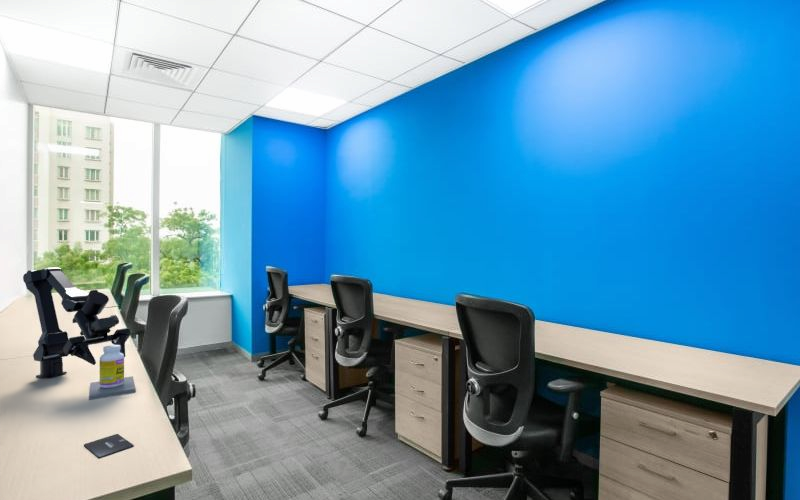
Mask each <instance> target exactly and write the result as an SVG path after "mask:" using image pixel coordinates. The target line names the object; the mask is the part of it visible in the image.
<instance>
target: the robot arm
mask: <svg viewBox="0 0 800 500" xmlns="http://www.w3.org/2000/svg"><path fill="white" fill-rule="evenodd" d="M22 280H23V283H24V284H25V287H26V289H27V291H28V292H30V293H31V294H33V296H34V301H35V305H36V309H37V315H38V319H39V323H40V329H41V332H42V333H41V336H40V337H39V339H38V341H37V344H38V346H37V347H36V349H35V351H34V352H33V354H32V357H33V361H35V362H40V363H39V364H40V365H39V366H40V367H39V368H40V369H39V370H40V374H37V375H35V378H41V379H42V378H44V379H51V378H54V377H58V376H61V375H65V374H68V372H67V371H64V367H63V366H64V364H63V363H64V362H63V358H65V357H68V356H69V355H70V356H71V357H76V358H79V359H82V360H84V361H85V362H88V363H89V364H91V365H93V366H95V365H96V363H97V362H96V359H95V357H94V355H93V353H92V352H91V350H90V348H89V346H90V345H98V344H103V343H107V342H111V344H112V345H120V346H121V349H120V353H123V354H124V358H126V342H127V340H128V339H129V338H130V336H131V335H132V331H131V329H130V328H129V327H124V328H119V329H116V330H115V331H114V333H113V334H109V333H110V332H111V328H114V327H116V326H117V325H119V323H120V320H119V317H118V315H116V314H113V315H110V316H109V317H102V318H99V317H98V316H99V315H100V314H101V313H102V312H103V311H104V309H105V307H106V306H107V304H108V302H109V301H110V299H109V297H108V295H106V294H105V293H103V292H100V291H98V289H92V290H89V292H86V291H85V290H82V289H79V288H77V287H76V286H75V285H74V284H73V283H72V282H71V280H70V279H69V278H68V277H67V276H66V274H64V272H63V269H62V268H61V267H45V268H41V269H30V270H27V271H26V273H24V274H23V277H22ZM53 289H54V290H55V292H57V293H58V295H59V296H60V297H61V306H62V308H63V310H64V311H65V312H67V313H75V312H76V313H75V314H74V315H73V319H72V323H73V324H76V323H77V326H78V327H79V329H80V332H79V334H80V335H77V336H72V337H69V334H68V332H67V331H65V330H64V331H63V330H62V329H61V328H60V325H59V321H58V316H57V312H56V308H55V307H56V306H55V303H54V298H53V294H52V290H53Z"/></svg>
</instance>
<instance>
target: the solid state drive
mask: <svg viewBox="0 0 800 500" xmlns="http://www.w3.org/2000/svg"><path fill="white" fill-rule="evenodd" d="M83 446H84V447H85V449H87V450H88V451H89V452H90V453H91V454H92V455H94V456H95V457H96V458H97V459H102V458H105V457H108V456H110V455H113V454H116V453H117V454H118V453H119V452H122V451H126V450H129V449H131V448H133V447H134V446H135V445H134V444H133V443H131V442H130V441H129V440H127V439H126V438H125V437H123V436H121V435H120V434H118V433H115V434H112V435H109V436H105V437H103V438H99V439H96V440H93V441H90V442H87V443H84V444H83Z"/></svg>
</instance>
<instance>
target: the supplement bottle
mask: <svg viewBox="0 0 800 500" xmlns="http://www.w3.org/2000/svg"><path fill="white" fill-rule="evenodd" d="M120 349H121V346H120V345H114V344H112V345H111V344H110V345H105V346H103V347H102V350H103V354H102V355H100V357H99V381H100V387H101V388H114V387H118V386H121V385H122V384H123V383H124V378H125V357H124V354H123V353H120Z"/></svg>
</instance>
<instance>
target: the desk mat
mask: <svg viewBox="0 0 800 500" xmlns="http://www.w3.org/2000/svg"><path fill="white" fill-rule="evenodd" d="M136 392H137V391H136V385H135V379H134V376H133V375H132V376H126V377H125V376H124V383H123V384H122V385H121V386H118V387H114V388H101V387H100V380H99V381H93V382H90V383H89V393H88V401H89V400H96V399H102V398H107V397H114V396H119V395H124V394H131V393H136Z"/></svg>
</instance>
